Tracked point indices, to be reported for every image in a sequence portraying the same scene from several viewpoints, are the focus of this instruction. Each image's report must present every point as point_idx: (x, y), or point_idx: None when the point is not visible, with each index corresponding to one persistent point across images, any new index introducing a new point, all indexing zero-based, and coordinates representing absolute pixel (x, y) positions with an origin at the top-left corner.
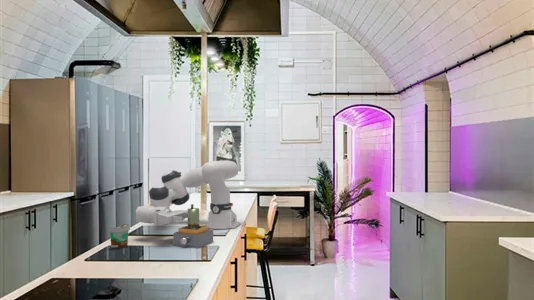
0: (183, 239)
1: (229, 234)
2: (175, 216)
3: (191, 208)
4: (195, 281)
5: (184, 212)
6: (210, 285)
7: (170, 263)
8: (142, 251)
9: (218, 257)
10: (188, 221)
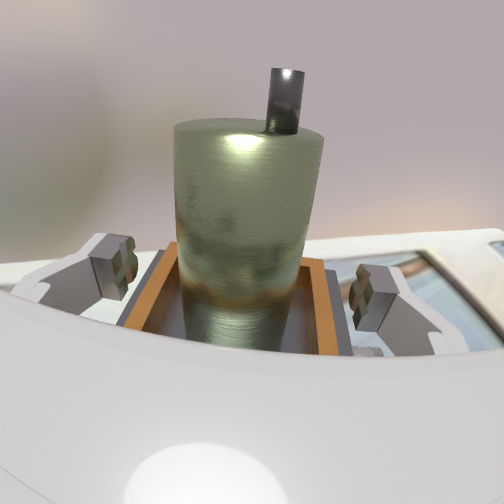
0: (379, 353)
1: (19, 276)
2: (436, 333)
3: (298, 121)
4: (495, 243)
5: (41, 305)
6: (485, 229)
7: (500, 310)
8: None
9: (386, 243)
10: (293, 280)
